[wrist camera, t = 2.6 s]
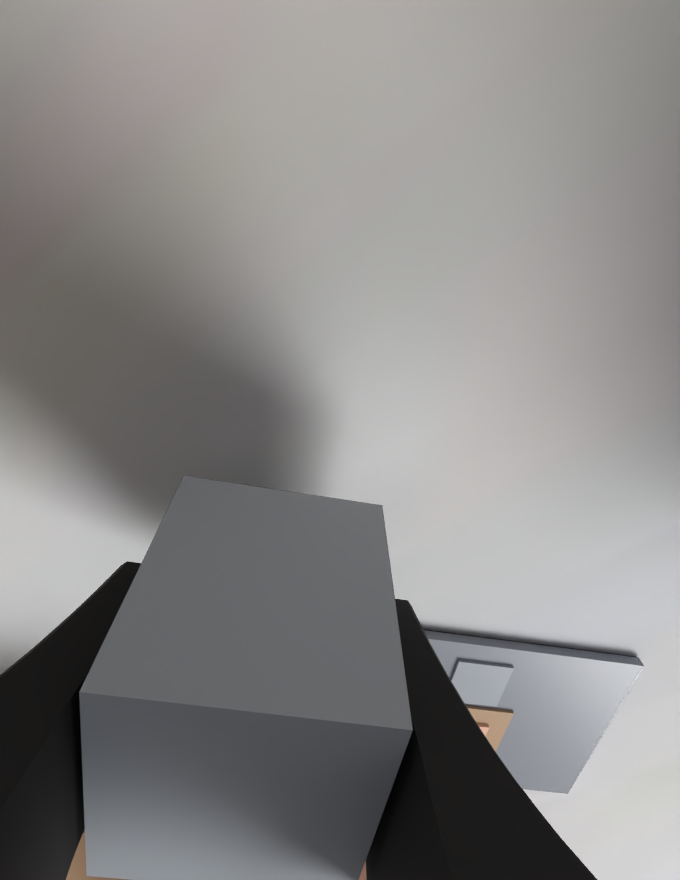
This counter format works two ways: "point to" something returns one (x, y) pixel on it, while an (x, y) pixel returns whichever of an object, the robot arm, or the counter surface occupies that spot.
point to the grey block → (247, 694)
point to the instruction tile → (537, 701)
